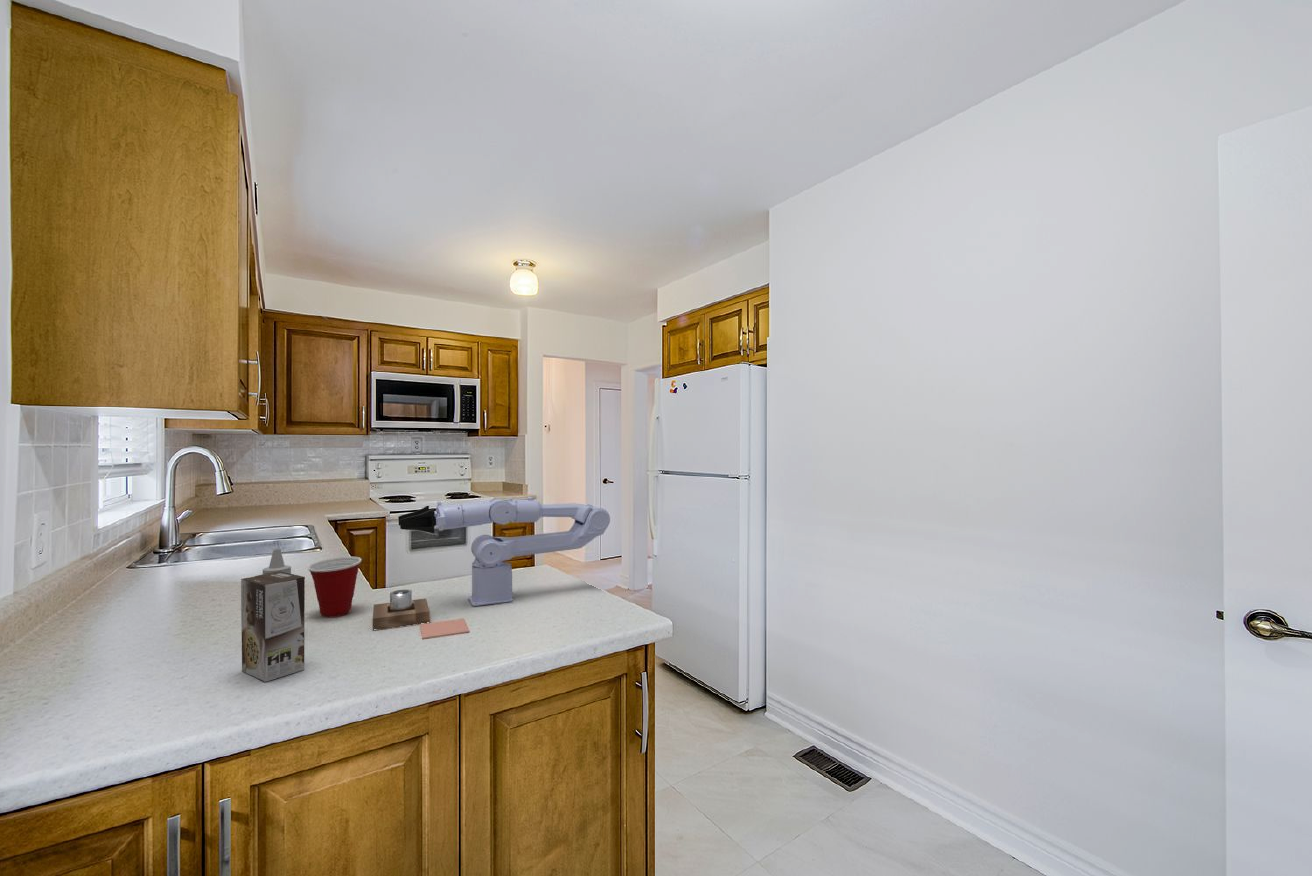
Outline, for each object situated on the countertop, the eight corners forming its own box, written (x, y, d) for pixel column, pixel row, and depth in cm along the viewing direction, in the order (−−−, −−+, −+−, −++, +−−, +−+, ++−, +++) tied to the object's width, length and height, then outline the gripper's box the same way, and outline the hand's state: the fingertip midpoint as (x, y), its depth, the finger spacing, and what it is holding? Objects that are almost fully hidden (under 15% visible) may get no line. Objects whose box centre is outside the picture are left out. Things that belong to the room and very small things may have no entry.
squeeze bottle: (276, 649, 105) (276, 554, 105) (240, 646, 106) (241, 552, 107) (310, 634, 113) (310, 546, 113) (277, 631, 114) (277, 545, 114)
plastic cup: (295, 619, 123) (295, 565, 123) (336, 605, 133) (336, 555, 133) (333, 623, 119) (333, 568, 119) (372, 609, 130) (372, 557, 130)
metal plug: (411, 615, 125) (411, 588, 125) (412, 620, 121) (412, 592, 121) (389, 618, 123) (389, 590, 123) (390, 623, 119) (390, 595, 119)
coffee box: (306, 669, 96) (306, 576, 96) (264, 683, 90) (264, 584, 90) (281, 658, 100) (281, 569, 100) (239, 671, 95) (239, 577, 95)
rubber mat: (464, 619, 122) (464, 618, 122) (469, 632, 114) (469, 630, 114) (419, 625, 118) (419, 624, 118) (422, 639, 110) (422, 637, 110)
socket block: (426, 609, 130) (426, 598, 130) (429, 622, 120) (429, 611, 120) (373, 615, 125) (373, 604, 125) (372, 630, 115) (372, 618, 115)
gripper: (455, 497, 140) (396, 502, 134) (464, 501, 127) (399, 507, 121) (457, 524, 140) (398, 532, 134) (466, 531, 127) (401, 540, 121)
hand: (399, 522), depth 127 cm, fingers open, 7 cm apart
